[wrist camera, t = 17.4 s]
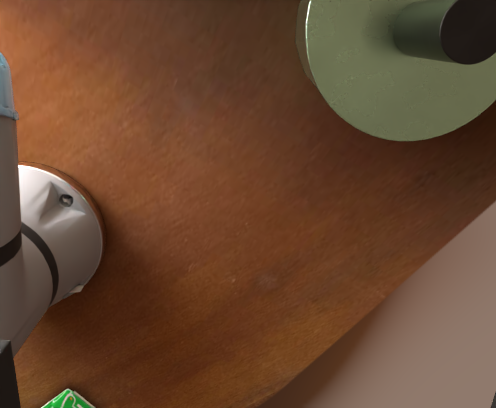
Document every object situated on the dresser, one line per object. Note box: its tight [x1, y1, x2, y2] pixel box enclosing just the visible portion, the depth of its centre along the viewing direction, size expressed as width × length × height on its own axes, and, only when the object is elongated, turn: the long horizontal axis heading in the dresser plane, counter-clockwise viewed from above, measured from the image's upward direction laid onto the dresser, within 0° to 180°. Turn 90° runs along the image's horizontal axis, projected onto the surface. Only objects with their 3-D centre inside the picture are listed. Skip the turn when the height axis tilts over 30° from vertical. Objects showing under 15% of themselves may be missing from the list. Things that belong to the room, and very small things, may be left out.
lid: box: [305, 0, 496, 141], centre depth 28 cm, size 16×16×9 cm
